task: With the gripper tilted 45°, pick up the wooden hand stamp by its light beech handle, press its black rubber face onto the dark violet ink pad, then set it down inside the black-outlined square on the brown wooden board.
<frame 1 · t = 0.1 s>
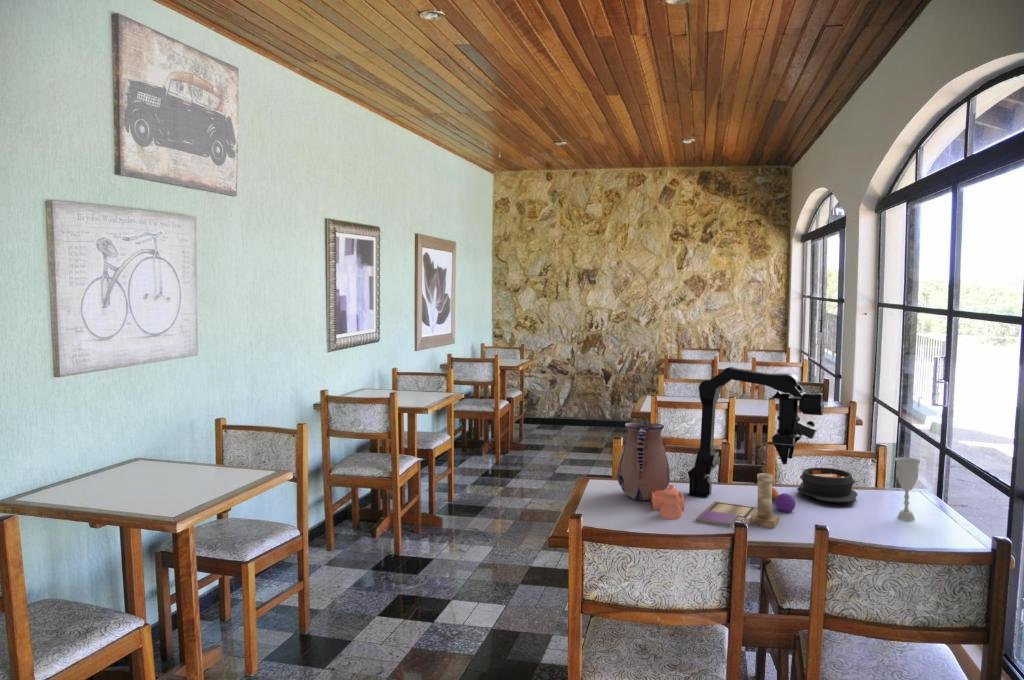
hand: (787, 461, 234), 15 cm above the table, tool pointing down, fingers open, 9 cm apart
pottery: (668, 511, 230), on the table, touching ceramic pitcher
stamp: (764, 524, 216), on the table
chalice: (906, 519, 221), on the table
ink pad: (717, 519, 220), resting on stamp board
stamp board: (726, 515, 225), on the table
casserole: (826, 497, 245), on the table
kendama: (779, 506, 236), on the table
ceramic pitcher: (643, 499, 245), on the table, touching pottery
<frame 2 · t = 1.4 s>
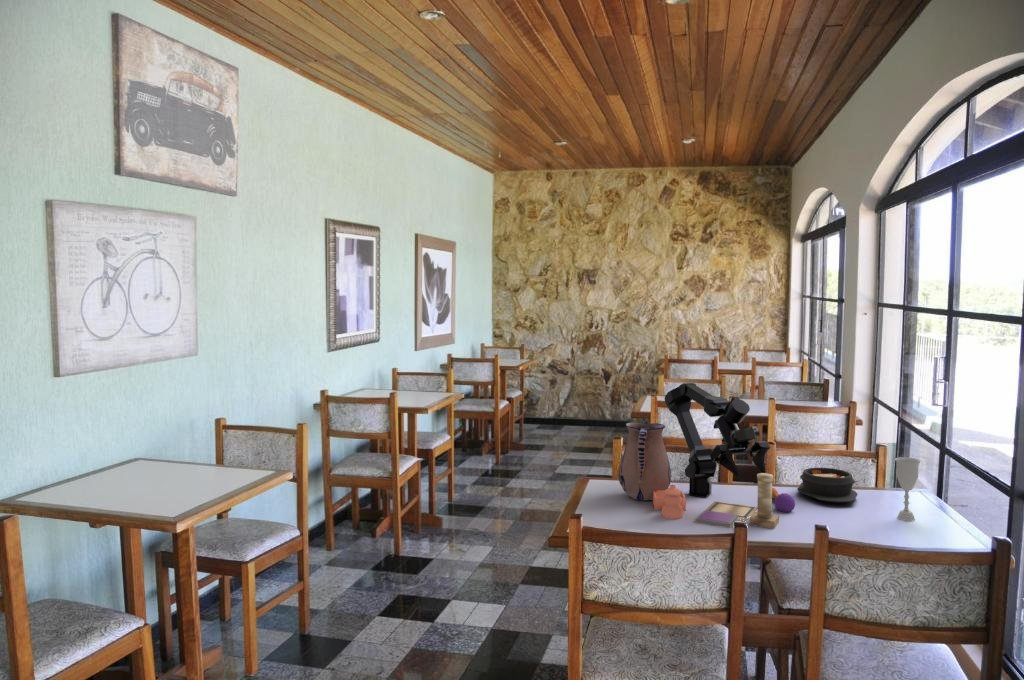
hand: (751, 474, 222), 13 cm above the table, tool tilted 45°, fingers open, 9 cm apart
nothing on the table moved.
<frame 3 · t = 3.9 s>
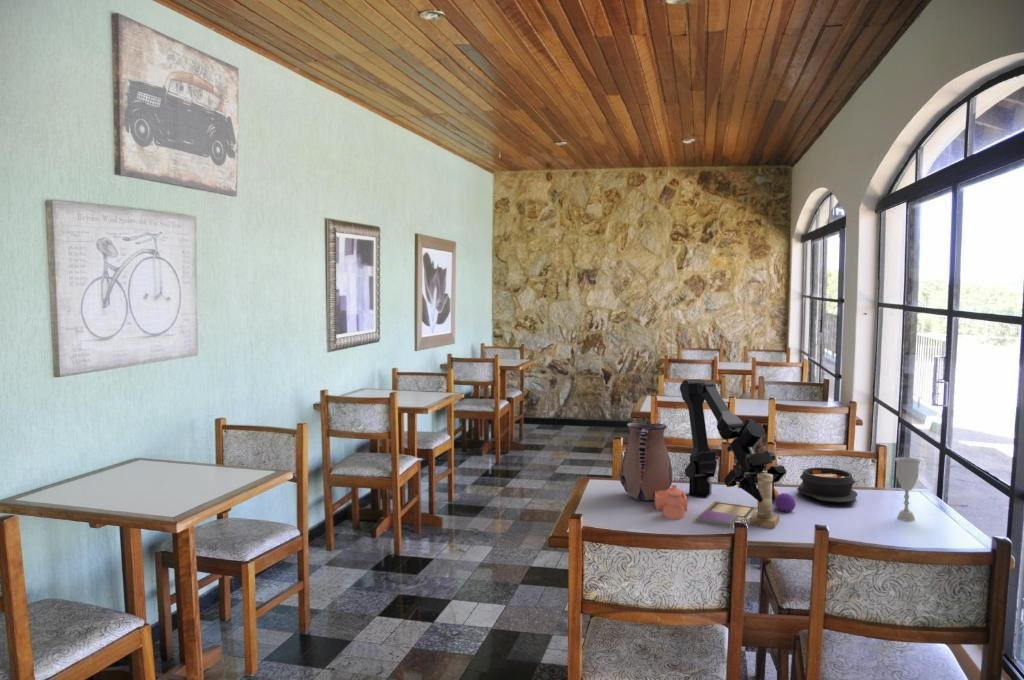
hand: (767, 500, 214), 8 cm above the table, tool tilted 45°, fingers closed on stamp, 4 cm apart
pottery: (671, 512, 230), on the table, touching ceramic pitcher
stamp: (764, 524, 216), on the table, touching gripper
everything else where it was.
when the fingers open (9 cm above the table, at t = 11.8 s): stamp drops 1 cm, resting on stamp board.
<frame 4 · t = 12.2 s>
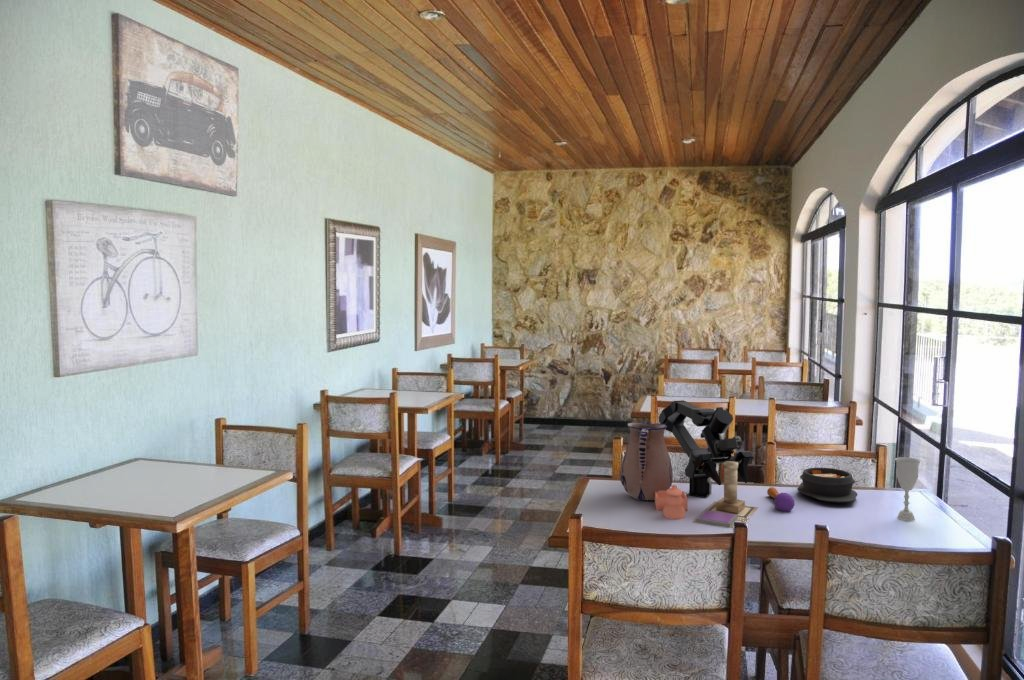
hand: (733, 483, 228), 9 cm above the table, tool tilted 45°, fingers open, 9 cm apart
stamp: (730, 509, 230), resting on stamp board
everything else where it was.
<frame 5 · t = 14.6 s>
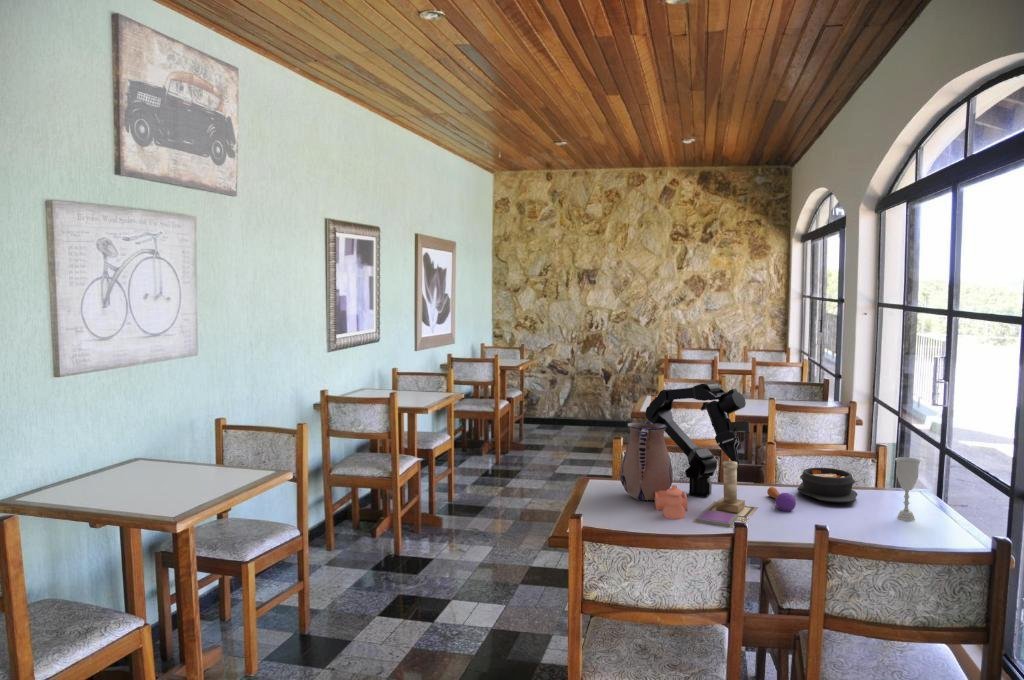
hand: (736, 464, 236), 13 cm above the table, tool tilted 25°, fingers open, 9 cm apart
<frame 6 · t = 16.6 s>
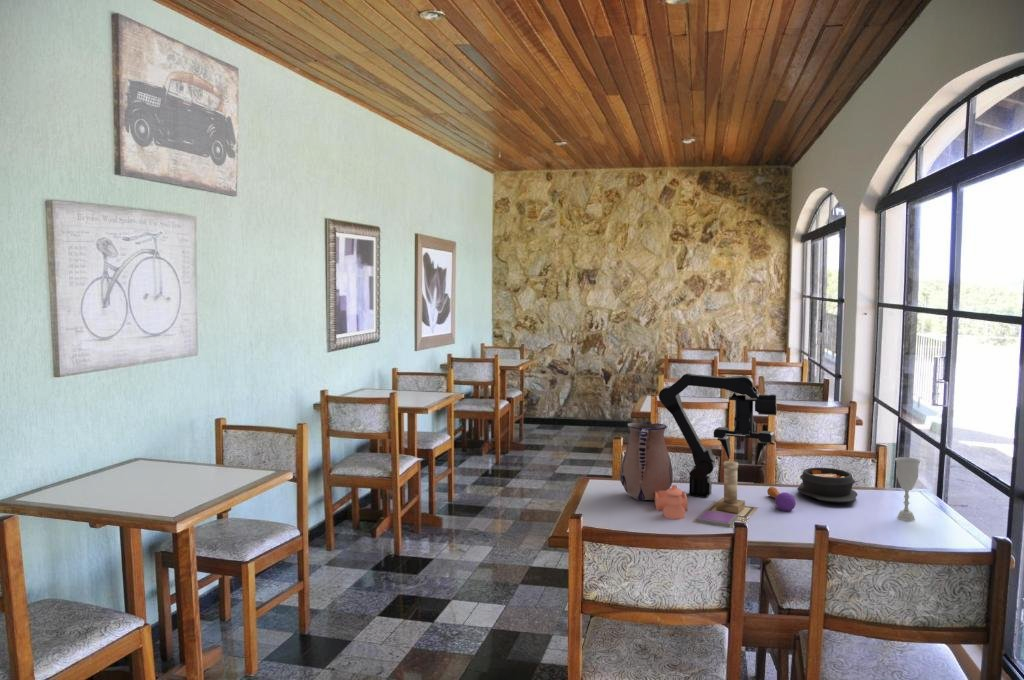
hand: (743, 460, 243), 13 cm above the table, tool pointing down, fingers open, 9 cm apart
at the end: stamp inside the target area (0.3 cm from its centre), resting on stamp board; stamp tilted 0°; the gripper is holding nothing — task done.
